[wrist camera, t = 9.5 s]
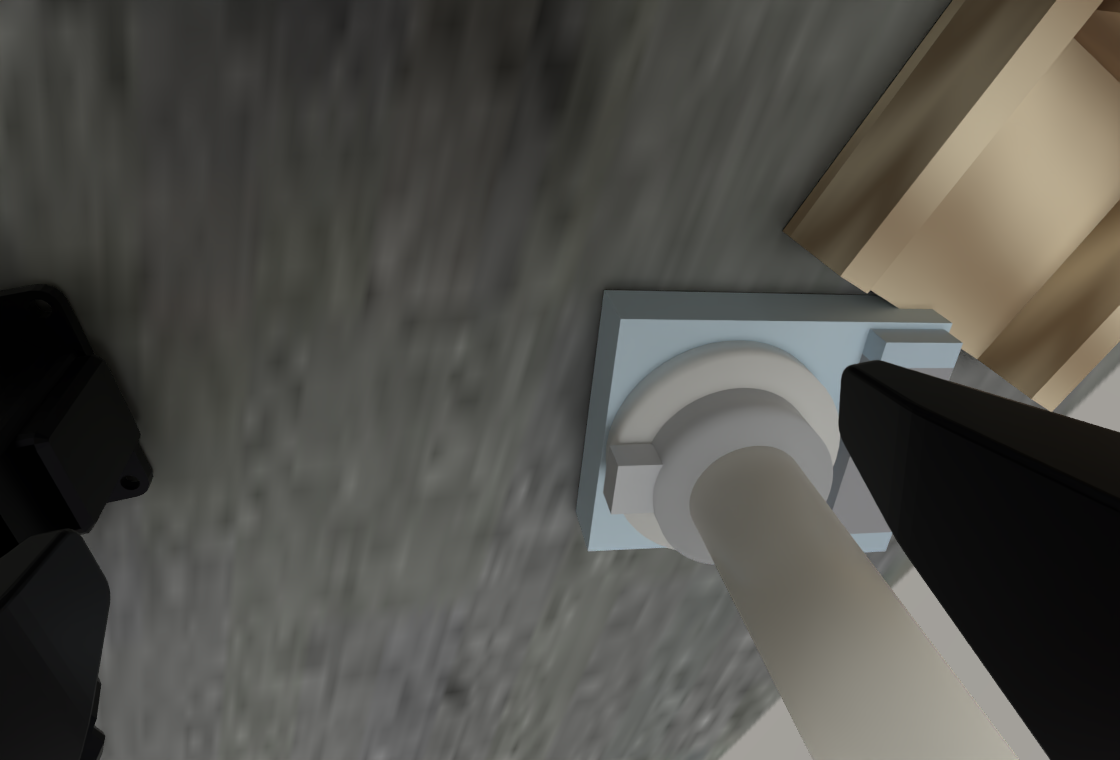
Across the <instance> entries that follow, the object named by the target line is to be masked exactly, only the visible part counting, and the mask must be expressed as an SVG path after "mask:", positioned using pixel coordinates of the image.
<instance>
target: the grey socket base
mask: <svg viewBox="0 0 1120 760" xmlns="http://www.w3.org/2000/svg"><path fill="white" fill-rule="evenodd" d="M951 326H952V322H950V321H949V320H947V319H946V318H944V317H943V316H942V315H940V314H939V313H937V312H936V311H935V310H933V309H899V308H897V307H896V306H894V305H893V304H891V303H890V302H888V301H887V300H885V299H884V298H882V297H880V296H879V295H831V294H781V293H730V292H679V291H629V290H604V295H603V303H602V310H601V318H600V326H599V334H598V342H597V350H596V357H595V365H594V373H593V381H592V389H591V396H590V404H589V412H588V420H587V428H586V435H585V443H584V451H583V459H582V467H581V474H580V482H579V490H578V498H577V506H576V514H577V517H578V520H579V523H580V527H581V530H582V533H583V537H584V540H585V543H586V546H587V550H588V551H602V550H623V549H645V548H666V547H667V548H670V549H674V548H673V547H672V546H671V545H670V544H669V543H668V541H667V540H666V538H665V537H664V535H663V533H662V531H661V529H660V526H659V524H658V522H657V520H656V517H655V515H654V513H635V514H611V513H610V510H609V508H608V505H607V502H606V499H605V497H604V494H603V488H604V481H605V474H606V467H607V459H608V452H609V445H630V444H651V443H652V441H653V439H654V437H655V436H656V434H657V433H658V432H659V430H660V429H661V428H662V427H663V425H664V424H665V423H666V422H667V421H668V420H669V419H670V418H671V417H672V416H674V415H675V414H676V413H677V412H678V411H680V410H681V409H682V408H684V407H685V406H687V405H688V404H690V403H692V402H694V401H695V400H697V399H699V398H702V397H704V396H706V395H709V394H712V393H715V392H718V391H722V390H727V389H733V388H755V389H761V390H766V391H769V392H772V393H775V394H777V395H779V396H781V397H783V398H784V399H786V400H787V401H788V402H790V403H791V404H792V405H793V406H794V407H795V408H796V409H797V410H798V411H799V413H800V414H801V415H802V416H803V417H804V419H805V420H806V421H807V422H808V423H809V425H810V426H811V427H812V428H813V429H814V431H815V432H816V433H817V434H818V435H819V436H820V438H821V439H822V440H823V442H824V443H825V445H826V446H827V448H828V451H829V453H830V456H831V460H832V464H833V480H832V486H831V490H830V493H829V496H828V498H827V501H826V503H827V504H828V505H829V507H830V508H831V509H832V511H833V512H834V513H835V515H836V516H837V517H838V519H839V520H840V521H841V523H842V524H843V525H844V527H845V528H846V529H847V531H848V532H849V533H850V535H851V536H852V537H853V539H854V540H855V541H856V543H857V544H858V545H859V547H860V548H861V549H862V551H863V552H879V551H886V548H887V546H888V543H889V540H890V538H891V535H892V532H891V530H890V528H889V527H888V525H887V523H886V521H885V519H884V517H883V516H882V514H881V512H880V510H879V508H878V506H877V505H876V503H875V501H874V499H873V497H872V495H871V494H870V492H869V490H868V488H867V486H866V484H865V482H864V481H863V479H862V477H861V475H860V473H859V471H858V470H857V468H856V466H855V464H854V462H853V460H852V459H851V457H850V455H849V453H848V451H847V449H846V447H845V446H844V444H843V442H842V439H841V436H840V432H839V426H838V418H839V401H840V385H841V376H842V373H843V370H844V369H845V368H846V367H847V366H849V365H853V364H857V363H862V362H867V361H872V360H882V361H885V362H888V363H892V364H895V365H898V366H902V367H905V368H908V369H911V370H915V371H918V372H921V373H925V374H928V375H931V376H935V377H938V378H941V379H945V380H948V381H949V379H950V377H951V374H952V371H953V369H954V366H955V363H956V361H957V358H958V355H959V353H960V350H961V347H962V345H963V343H962V342H961V341H960V340H958V339H957V338H955V337H954V336H953V335H951V334H950V333H949V332H950V329H951ZM674 550H675V549H674Z"/></svg>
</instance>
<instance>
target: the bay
mask: <svg viewBox="0 0 1120 760" xmlns="http://www.w3.org/2000/svg"><path fill="white" fill-rule="evenodd" d="M1102 1H1103V0H952V2H951V3H950V4H949V6H948V7H947V9H946V10H945V11H944V13H943V14H942V15H941V17H940V18H939V19H938V21H937V22H936V24H935V25H934V26H933V28H932V29H931V30H930V32H929V33H928V34H927V36H926V37H925V38H924V40H923V41H922V43H921V44H920V45H919V47H918V48H917V49H916V51H915V52H914V53H913V55H912V56H911V57H910V59H909V60H908V62H907V63H906V64H905V66H904V67H903V68H902V70H901V71H900V72H899V74H898V75H897V76H896V78H895V79H894V81H893V82H892V83H891V85H890V86H889V87H888V89H887V90H886V91H885V93H884V94H883V95H882V97H881V98H880V100H879V101H878V102H877V104H876V105H875V106H874V108H873V109H872V110H871V112H870V113H869V114H868V116H867V117H866V119H865V120H864V121H863V123H862V124H861V125H860V127H859V128H858V129H857V131H856V132H855V133H854V135H853V136H852V138H851V139H850V140H849V142H848V143H847V144H846V146H845V147H844V148H843V150H842V151H841V152H840V154H839V155H838V157H837V158H836V159H835V161H834V162H833V163H832V165H831V166H830V167H829V169H828V170H827V171H826V173H825V174H824V176H823V177H822V178H821V180H820V181H819V182H818V184H817V185H816V186H815V188H814V189H813V191H812V192H811V193H810V195H809V196H808V197H807V199H806V200H805V201H804V203H803V204H802V205H801V207H800V208H799V210H798V211H797V212H796V214H795V215H794V216H793V218H792V219H791V220H790V222H789V223H788V224H787V226H786V227H785V229H784V230H783V232H784V233H786V234H787V235H788V236H789V237H791V238H792V239H793V240H794V241H796V242H797V243H798V244H800V245H801V246H802V247H803V248H805V249H806V250H807V251H809V252H810V253H811V254H812V255H814V256H815V257H816V258H818V259H819V260H820V261H821V262H823V263H824V264H825V265H827V266H828V267H829V268H830V269H832V270H833V271H834V272H836V273H837V274H838V275H839V276H841V277H842V278H844V279H845V280H847V281H849V282H850V283H852V284H853V285H855V286H856V287H858V288H859V289H861V290H863V291H864V292H866V293H867V294H868V292H869V291H870V290H871V291H873V292H874V293H876V294H877V295H879V296H880V297H882V298H884V299H885V300H887V301H888V302H890V303H891V304H893V305H894V306H896V307H897V308H899V309H933V310H935V311H936V312H937V313H939V314H940V315H942V316H943V317H944V318H946V319H947V320H949V321H950V322H952V326H951V329H950V332H949V333H950V334H951V335H953V336H954V337H955V338H957V339H958V340H960V341H961V342H962V343H963V345H962V347H961V349H962V350H964V351H966V352H967V353H969V354H970V355H972V356H973V357H975V358H976V359H978V360H979V361H981V362H982V363H983V364H985V365H986V366H987V367H989V368H990V369H991V370H993V371H994V372H995V373H997V374H998V375H999V376H1001V377H1002V378H1004V379H1005V380H1006V381H1008V382H1009V383H1010V384H1012V385H1013V386H1014V387H1016V388H1017V389H1018V390H1020V391H1021V392H1023V393H1024V394H1025V395H1027V396H1028V397H1029V398H1031V399H1032V400H1034V401H1035V402H1037V403H1038V404H1040V405H1041V406H1043V407H1045V408H1046V409H1048V410H1049V411H1051V412H1052V411H1053V410H1054V409H1055V408H1056V407H1057V406H1058V405H1059V404H1060V403H1061V402H1062V401H1063V400H1064V399H1065V398H1066V396H1067V395H1068V394H1069V393H1070V392H1071V391H1072V390H1073V389H1074V388H1075V387H1076V386H1077V385H1078V384H1079V383H1080V382H1081V381H1082V380H1083V379H1084V378H1085V377H1086V376H1087V375H1088V374H1089V372H1090V371H1091V370H1092V369H1093V368H1094V367H1095V366H1096V365H1097V364H1098V363H1099V362H1100V361H1101V360H1102V359H1103V358H1104V357H1105V356H1106V355H1107V354H1108V353H1109V352H1110V351H1111V350H1112V348H1113V347H1114V346H1115V345H1116V344H1117V343H1118V342H1119V341H1120V83H1119V82H1118V81H1117V80H1116V79H1115V78H1114V77H1113V76H1112V75H1111V74H1110V73H1109V72H1108V71H1107V70H1106V69H1105V68H1104V67H1103V66H1102V65H1101V64H1100V63H1099V62H1098V61H1097V60H1096V59H1095V58H1094V57H1093V56H1092V55H1091V54H1090V53H1089V52H1088V51H1087V50H1086V49H1085V48H1084V47H1083V46H1082V45H1080V44H1079V43H1078V42H1077V41H1076V40H1075V39H1074V38H1073V37H1074V36H1075V35H1076V34H1077V32H1078V31H1079V30H1080V29H1081V28H1082V26H1083V25H1084V24H1085V23H1086V21H1087V20H1088V19H1089V18H1090V16H1091V15H1092V14H1093V13H1094V11H1095V10H1096V9H1097V8H1098V6H1099V5H1100V4H1101V3H1102Z"/></svg>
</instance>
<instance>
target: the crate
mask: <svg viewBox="0 0 1120 760" xmlns="http://www.w3.org/2000/svg"><path fill="white" fill-rule="evenodd" d="M1073 38H1074V39H1075V40H1076V41H1077V42H1078V43H1079V44H1080V45H1082V46H1083V47H1084V48H1085V49H1086V50H1087V51H1088V52H1089V53H1090V54H1091V55H1092V56H1093V57H1094V58H1095V59H1096V60H1097V61H1098V62H1099V63H1100V64H1101V65H1102V66H1103V67H1104V68H1105V69H1106V70H1107V71H1108V72H1109V73H1110V74H1111V75H1112V76H1113V77H1114V78H1115V79H1116V80H1117V81H1118V82H1119V83H1120V0H1103V1H1102V3H1101V4H1100V5H1099V6H1098V8H1097V9H1096V10H1095V11H1094V13H1093V14H1092V15H1091V16H1090V18H1089V19H1088V20H1087V21H1086V23H1085V24H1084V25H1083V26H1082V28H1081V29H1080V30H1079V31H1078V32H1077V34H1076V35H1075V36H1074V37H1073Z"/></svg>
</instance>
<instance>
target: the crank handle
mask: <svg viewBox="0 0 1120 760" xmlns="http://www.w3.org/2000/svg"><path fill="white" fill-rule="evenodd" d="M832 480H833V464H832V460H831V456H830V453H829V451H828V448H827V446H826V445H825V443H824V442H823V440H822V439H821V438H820V436H819V435H818V434H817V433H816V432H815V431H814V429H813V428H812V427H811V426H810V425H809V423H808V422H807V421H806V420H805V419H804V417H803V416H802V415H801V414H800V413H799V411H798V410H797V409H796V408H795V407H794V406H793V405H792V404H791V403H790V402H788V401H787V400H786V399H784V398H783V397H781V396H779V395H777V394H775V393H772V392H769V391H766V390H761V389H755V388H733V389H727V390H722V391H718V392H715V393H712V394H709V395H706V396H704V397H702V398H699V399H697V400H695V401H694V402H692V403H690V404H688V405H687V406H685V407H684V408H682V409H681V410H680V411H678V412H677V413H676V414H675V415H674V416H672V417H671V418H670V419H669V420H668V421H667V422H666V423H665V424H664V425H663V427H662V428H661V429H660V430H659V432H658V433H657V434H656V436H655V437H654V439H653V441H652V443H651V444H630V445H609V452H608V459H607V467H606V474H605V481H604V488H603V494H604V497H605V499H606V502H607V505H608V508H609V510H610V513H611V514H635V513H654V515H655V517H656V520H657V522H658V524H659V526H660V529H661V531H662V533H663V535H664V537H665V538H666V540H667V541H668V543H669V544H670V545H671V546H672V547H673V548H674V549H675V550H677V551H678V552H679V553H681V554H682V555H684V556H686V557H688V558H689V559H692V560H695V561H697V562H701V563H705V564H712V565H715V566H716V568H717V570H718V572H719V574H720V576H721V578H722V580H723V582H724V584H725V586H726V588H727V590H728V592H729V594H730V596H731V598H732V600H733V602H734V604H735V606H736V608H737V610H738V612H739V614H740V616H741V618H742V620H743V622H744V624H745V626H746V627H747V629H748V631H749V633H750V635H751V637H752V639H753V641H754V643H755V645H756V647H757V649H758V651H759V653H760V655H761V657H762V659H763V661H764V663H765V665H766V667H767V669H768V671H769V673H770V675H771V677H772V679H773V681H774V683H775V685H776V687H777V689H778V691H779V693H780V695H781V697H782V699H783V701H784V703H785V705H786V707H787V709H788V711H789V713H790V715H791V717H792V719H793V721H794V723H795V725H796V727H797V729H798V731H799V733H800V735H801V737H802V739H803V741H804V743H805V745H806V747H807V749H808V751H809V753H810V755H811V757H812V759H813V760H1020V759H1019V758H1018V757H1017V756H1016V754H1015V753H1014V752H1013V750H1012V749H1011V748H1010V746H1009V745H1008V744H1007V742H1006V741H1005V740H1004V738H1003V737H1002V736H1001V734H1000V733H999V732H998V730H997V729H996V728H995V726H994V725H993V724H992V722H991V721H990V720H989V718H988V717H987V716H986V714H985V713H984V712H983V710H982V709H981V708H980V706H979V705H978V704H977V702H976V701H975V700H974V698H973V697H972V696H971V694H970V693H969V692H968V690H967V689H966V688H965V686H964V685H963V684H962V682H961V681H960V680H959V678H958V677H957V676H956V674H955V673H954V672H953V670H952V669H951V668H950V666H949V665H948V664H947V662H946V661H945V660H944V658H943V657H942V656H941V654H940V653H939V652H938V650H937V649H936V648H935V646H934V645H933V644H932V642H931V641H930V640H929V638H928V637H927V636H926V634H925V633H924V632H923V631H922V629H921V628H920V627H919V625H918V624H917V622H916V621H915V620H914V618H913V617H912V616H911V614H910V613H909V612H908V611H907V609H906V608H905V606H904V605H903V604H902V603H901V601H900V600H899V599H898V597H897V596H896V595H895V593H894V592H893V591H892V589H891V588H890V587H889V585H888V584H887V583H886V581H885V580H884V579H883V577H882V576H881V575H880V573H879V572H878V571H877V569H876V568H875V567H874V565H873V564H872V563H871V561H870V560H869V559H868V557H867V556H866V555H865V553H864V552H863V551H862V549H861V548H860V547H859V545H858V544H857V543H856V541H855V540H854V539H853V537H852V536H851V535H850V533H849V532H848V531H847V529H846V528H845V527H844V525H843V524H842V523H841V521H840V520H839V519H838V517H837V516H836V515H835V513H834V512H833V511H832V509H831V508H830V507H829V505H828V504H827V503H826V501H827V498H828V496H829V493H830V490H831V486H832Z"/></svg>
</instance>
